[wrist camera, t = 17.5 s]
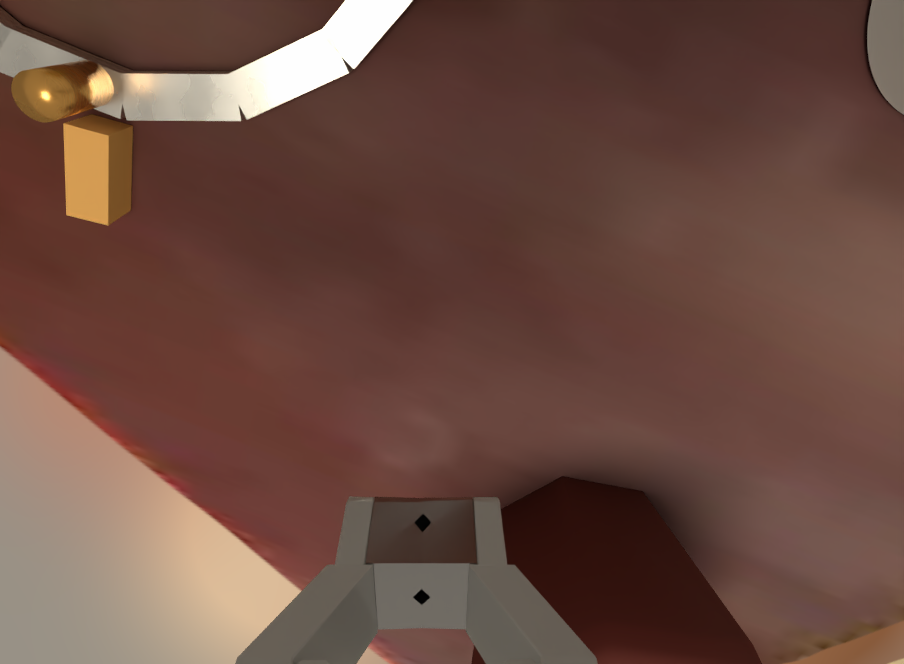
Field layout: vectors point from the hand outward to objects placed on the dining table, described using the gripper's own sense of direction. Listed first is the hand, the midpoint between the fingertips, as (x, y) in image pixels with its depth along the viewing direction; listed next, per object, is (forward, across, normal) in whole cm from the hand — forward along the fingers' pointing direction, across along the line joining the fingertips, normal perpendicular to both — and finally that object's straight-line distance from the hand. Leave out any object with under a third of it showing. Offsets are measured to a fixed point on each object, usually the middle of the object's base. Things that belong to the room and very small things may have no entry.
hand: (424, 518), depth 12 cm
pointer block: (+29, +20, 0) cm, 35 cm away
